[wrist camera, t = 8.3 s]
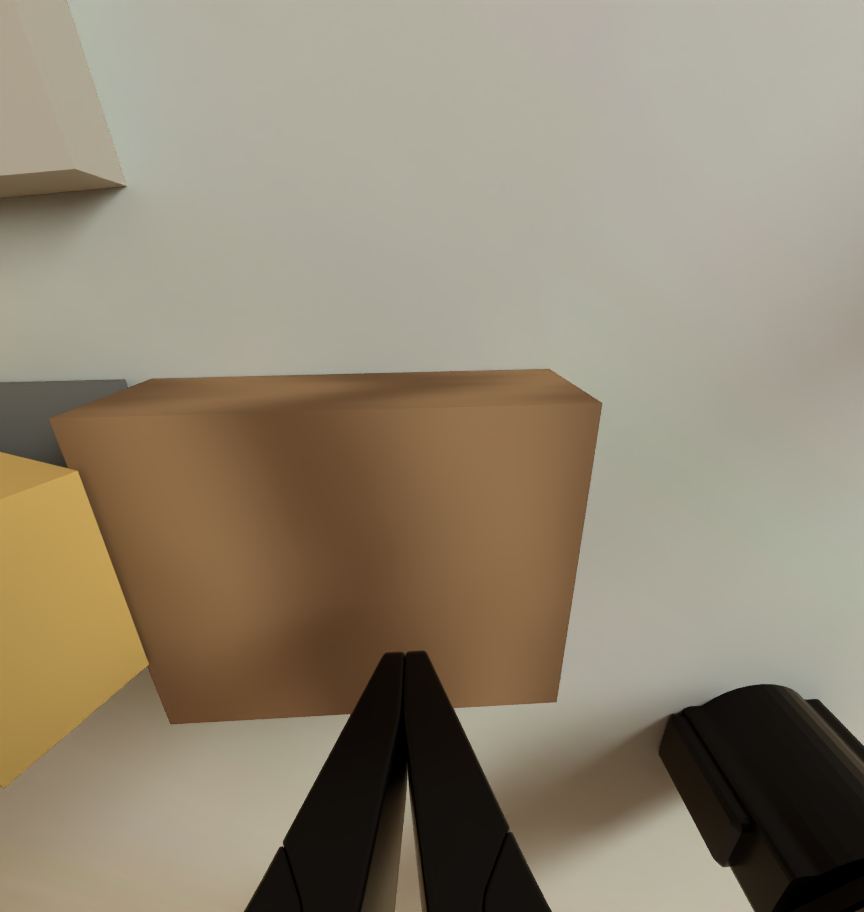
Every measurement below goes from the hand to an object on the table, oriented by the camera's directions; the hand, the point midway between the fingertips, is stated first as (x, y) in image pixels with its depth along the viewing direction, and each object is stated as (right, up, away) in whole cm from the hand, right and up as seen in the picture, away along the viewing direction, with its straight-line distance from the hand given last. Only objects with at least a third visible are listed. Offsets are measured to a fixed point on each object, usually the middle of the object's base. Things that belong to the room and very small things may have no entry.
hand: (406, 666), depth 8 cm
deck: (-2, +2, +5) cm, 6 cm away
